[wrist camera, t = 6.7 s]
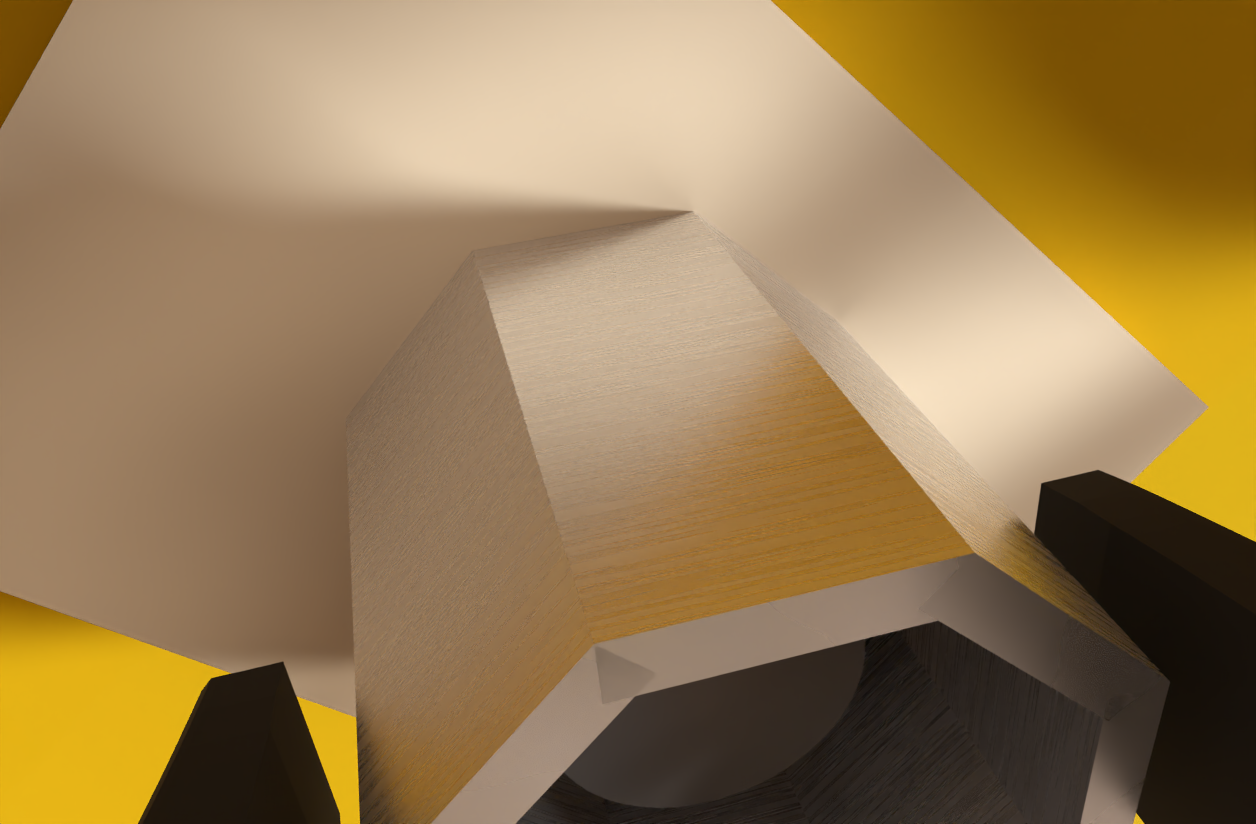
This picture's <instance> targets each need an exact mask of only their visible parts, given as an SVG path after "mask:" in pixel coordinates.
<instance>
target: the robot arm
mask: <svg viewBox="0 0 1256 824" xmlns="http://www.w3.org/2000/svg"><path fill="white" fill-rule="evenodd" d="M1034 535H1035V536H1036V537H1037V538H1038V539H1039V540H1040V541H1041V542H1042V543H1043V544H1044V545H1045V547H1046V548H1047V549H1048V550H1049V551H1050V552H1051V553H1052V554H1053V555H1054V556H1055V557H1056V559H1057V560H1058V561H1059V562H1060V563H1061V564H1062V565H1063V566H1064V567H1065V568H1066V569H1067V570H1068V572H1069V573H1070V574H1071V575H1072V576H1073V577H1074V578H1075V579H1076V580H1077V581H1078V582H1079V583H1080V585H1081V586H1082V587H1083V588H1084V589H1085V590H1086V591H1087V592H1088V593H1089V594H1090V595H1091V596H1092V598H1093V599H1094V600H1095V601H1096V602H1097V603H1098V604H1099V605H1100V606H1101V607H1102V608H1103V610H1104V611H1105V612H1106V613H1107V614H1108V615H1109V616H1110V617H1111V618H1112V619H1113V620H1114V621H1115V623H1116V624H1117V625H1118V626H1119V627H1120V628H1121V629H1122V630H1123V631H1124V632H1125V633H1126V634H1127V636H1128V637H1129V638H1130V639H1131V640H1132V641H1133V642H1134V643H1135V644H1136V645H1137V646H1138V647H1139V649H1140V650H1141V651H1142V652H1143V653H1144V654H1145V655H1146V656H1147V657H1148V658H1149V659H1150V661H1151V662H1152V663H1153V664H1154V665H1155V666H1156V667H1157V668H1158V669H1159V670H1160V671H1161V672H1162V674H1163V675H1164V676H1165V677H1166V678H1167V679H1168V680H1169V681H1170V684H1169V688H1168V692H1167V696H1166V699H1165V703H1164V707H1163V711H1162V715H1161V719H1160V722H1159V726H1158V730H1157V734H1156V738H1155V741H1154V745H1153V749H1152V753H1151V757H1150V761H1149V764H1148V768H1147V772H1146V776H1145V780H1144V784H1143V787H1142V791H1141V795H1140V799H1139V803H1138V806H1137V810H1136V813H1137V814H1138V816H1139V817H1140V818H1141V819H1142V821H1143V822H1144V823H1145V824H1256V542H1255V541H1253V540H1250V539H1248V538H1246V537H1244V536H1242V535H1240V534H1238V533H1236V532H1234V531H1232V530H1229V529H1227V528H1225V527H1223V526H1221V525H1219V524H1217V523H1215V522H1213V521H1211V520H1209V519H1206V518H1204V517H1202V516H1200V515H1198V514H1196V513H1194V512H1192V511H1190V510H1188V509H1185V508H1183V507H1181V506H1179V505H1177V504H1175V503H1173V502H1171V501H1168V500H1166V499H1164V498H1162V497H1160V496H1158V495H1156V494H1153V493H1151V492H1149V491H1147V490H1145V489H1142V488H1140V487H1138V486H1136V485H1133V484H1131V483H1129V482H1127V481H1124V480H1122V479H1120V478H1117V477H1115V476H1112V475H1110V474H1108V473H1105V472H1103V471H1100V470H1095V471H1091V472H1086V473H1082V474H1078V475H1074V476H1069V477H1065V478H1061V479H1057V480H1052V481H1048V482H1044V483H1041V488H1040V495H1039V502H1038V509H1037V516H1036V523H1035V530H1034ZM138 824H341V823H340V813H339V810H338V808H337V805H336V802H335V800H334V797H333V794H332V791H331V789H330V786H329V783H328V781H327V778H326V775H325V773H324V770H323V767H322V764H321V762H320V759H319V756H318V754H317V751H316V748H315V746H314V743H313V740H312V737H311V735H310V732H309V729H308V727H307V724H306V721H305V719H304V716H303V713H302V711H301V708H300V705H299V702H298V700H297V697H296V694H295V692H294V689H293V686H292V684H291V681H290V678H289V675H288V673H287V670H286V667H285V665H284V662H279V663H274V664H270V665H266V666H262V667H257V668H253V669H249V670H245V671H240V672H236V673H232V674H228V675H223V676H219V677H215V678H211V679H210V681H209V682H208V683H207V685H206V686H205V687H204V689H203V690H202V691H201V693H200V696H199V698H198V700H197V702H196V704H195V707H194V709H193V711H192V713H191V715H190V717H189V720H188V722H187V724H186V726H185V728H184V730H183V732H182V735H181V737H180V739H179V741H178V743H177V745H176V747H175V749H174V752H173V754H172V756H171V758H170V760H169V762H168V764H167V766H166V768H165V770H164V772H163V774H162V776H161V779H160V781H159V783H158V785H157V787H156V789H155V791H154V793H153V795H152V797H151V799H150V801H149V803H148V805H147V807H146V809H145V811H144V813H143V815H142V817H141V819H140V821H139V823H138Z"/></svg>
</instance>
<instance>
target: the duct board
mask: <svg viewBox="0 0 1256 824" xmlns="http://www.w3.org/2000/svg"><path fill="white" fill-rule="evenodd" d="M691 211H694V212H695V213H696V214H697V215H699V216H700V217H701V218H703V219H704V220H705V221H707V222H708V223H709V224H711V225H712V226H713V227H715V228H716V229H717V230H719V231H720V232H721V233H722V234H724V235H725V236H726V237H728V238H729V239H730V240H732V241H733V242H734V243H736V244H737V245H738V246H740V247H741V248H742V249H744V250H745V251H746V252H747V253H749V254H750V255H751V256H753V257H754V258H755V259H757V260H758V261H759V262H761V263H762V264H763V265H765V266H766V267H767V268H769V269H770V270H771V271H772V272H774V273H775V274H776V275H778V276H779V277H780V278H782V279H783V280H784V281H786V282H787V283H788V284H790V285H791V286H792V287H794V288H795V289H796V290H797V291H799V292H800V293H801V294H803V295H804V296H805V297H807V298H808V299H809V300H811V301H812V302H813V303H815V304H816V305H817V306H819V307H820V308H821V309H822V310H824V311H825V312H826V313H828V314H829V315H830V316H832V317H833V318H834V319H836V320H837V321H838V322H839V323H840V324H841V325H842V326H843V327H844V328H845V330H846V331H847V332H848V333H849V334H850V335H851V336H852V337H853V338H854V339H855V340H856V341H857V343H858V344H859V345H860V346H861V347H862V348H863V349H864V350H865V351H866V352H867V353H868V354H869V356H870V357H871V358H872V359H873V360H874V361H875V362H876V363H877V364H878V365H879V366H880V367H881V369H882V370H883V371H884V372H885V373H886V374H887V375H888V376H889V377H890V378H891V379H892V381H893V382H894V383H895V384H896V385H897V386H898V387H899V388H900V389H901V390H902V391H903V392H904V394H905V395H906V396H907V397H908V398H909V399H910V400H911V401H912V402H913V403H914V404H915V405H916V407H917V408H918V409H919V410H920V411H921V412H922V413H923V414H924V415H925V416H926V417H927V419H928V420H929V421H930V422H931V423H932V424H933V425H934V426H935V427H936V428H937V429H938V430H939V432H940V433H941V434H942V435H943V436H944V437H945V438H946V439H947V440H948V441H949V442H950V443H951V445H952V446H953V447H954V448H955V449H956V450H957V451H958V452H959V453H960V454H961V455H962V456H963V458H964V459H965V460H966V461H967V462H968V463H969V464H970V465H971V466H972V467H973V468H974V470H975V471H976V472H977V473H978V474H979V475H980V476H981V477H982V478H983V479H984V480H985V481H986V483H987V484H988V485H989V486H990V487H991V488H992V489H993V490H994V491H995V492H996V493H997V494H998V496H999V497H1000V498H1001V499H1002V500H1003V501H1004V502H1005V503H1006V504H1007V505H1008V506H1009V507H1010V509H1011V510H1012V511H1013V512H1014V513H1015V514H1016V515H1017V516H1018V517H1019V518H1020V519H1021V521H1022V522H1023V523H1024V524H1025V525H1026V526H1027V527H1028V528H1029V529H1030V530H1031V531H1032V532H1033V534H1034V530H1035V523H1036V516H1037V509H1038V502H1039V495H1040V488H1041V483H1044V482H1048V481H1052V480H1057V479H1061V478H1065V477H1069V476H1074V475H1078V474H1082V473H1086V472H1091V471H1095V470H1100V471H1103V472H1105V473H1108V474H1110V475H1112V476H1115V477H1117V478H1120V479H1122V480H1124V481H1127V482H1129V483H1131V482H1132V481H1133V480H1134V479H1135V478H1136V477H1137V476H1138V475H1139V474H1140V473H1141V472H1142V471H1143V470H1144V469H1145V468H1146V467H1147V466H1148V465H1149V464H1150V463H1151V462H1152V461H1153V460H1154V459H1155V458H1157V457H1158V456H1159V455H1160V454H1161V453H1162V452H1163V451H1164V450H1165V449H1166V448H1167V447H1168V446H1169V445H1170V444H1171V443H1172V442H1173V441H1174V440H1175V439H1176V438H1177V437H1178V436H1179V435H1180V434H1181V433H1182V432H1183V431H1185V430H1186V429H1187V428H1188V427H1189V426H1190V425H1191V424H1192V423H1193V422H1194V421H1195V420H1196V419H1197V418H1198V417H1199V416H1200V415H1201V414H1202V413H1203V412H1204V411H1205V410H1206V409H1207V408H1208V406H1207V405H1206V404H1205V403H1204V402H1202V401H1201V400H1200V399H1199V398H1198V397H1197V396H1196V395H1195V394H1194V393H1193V392H1192V391H1191V390H1190V389H1189V388H1187V387H1186V386H1185V385H1184V384H1183V383H1182V382H1181V381H1180V380H1179V379H1178V378H1177V377H1176V376H1175V375H1173V374H1172V373H1171V372H1170V371H1169V370H1168V369H1167V368H1166V367H1165V366H1164V365H1163V364H1162V363H1161V362H1159V361H1158V360H1157V359H1156V358H1155V357H1154V356H1153V355H1152V354H1151V353H1150V352H1149V351H1148V350H1147V349H1145V348H1144V347H1143V346H1142V345H1141V344H1140V343H1139V342H1138V341H1137V340H1136V339H1135V338H1134V337H1133V336H1131V335H1130V334H1129V333H1128V332H1127V331H1126V330H1125V329H1124V328H1123V327H1122V326H1121V325H1120V324H1119V323H1117V322H1116V321H1115V320H1114V319H1113V318H1112V317H1111V316H1110V315H1109V314H1108V313H1107V312H1106V311H1105V310H1103V309H1102V308H1101V307H1100V306H1099V305H1098V304H1097V303H1096V302H1095V301H1094V300H1093V299H1092V298H1091V297H1089V296H1088V295H1087V294H1086V293H1085V292H1084V291H1083V290H1082V289H1081V288H1080V287H1079V286H1078V285H1077V284H1075V283H1074V282H1073V281H1072V280H1071V279H1070V278H1069V277H1068V276H1067V275H1066V274H1065V273H1064V272H1063V271H1061V270H1060V269H1059V268H1058V267H1057V266H1056V265H1055V264H1054V263H1053V262H1052V261H1051V260H1050V259H1049V258H1047V257H1046V256H1045V255H1044V254H1043V253H1042V252H1041V251H1040V250H1039V249H1038V248H1037V247H1036V246H1035V245H1033V244H1032V243H1031V242H1030V241H1029V240H1028V239H1027V238H1026V237H1025V236H1024V235H1023V234H1022V233H1021V232H1019V231H1018V230H1017V229H1016V228H1015V227H1014V226H1013V225H1012V224H1011V223H1010V222H1009V221H1008V220H1007V219H1005V218H1004V217H1003V216H1002V215H1001V214H1000V213H999V212H998V211H997V210H996V209H995V208H994V207H993V206H991V205H990V204H989V203H988V202H987V201H986V200H985V199H984V198H983V197H982V196H981V195H980V194H979V193H977V192H976V191H975V190H974V189H973V188H972V187H971V186H970V185H969V184H968V183H967V182H966V181H965V180H963V179H962V178H961V177H960V176H959V175H958V174H957V173H956V172H955V171H954V170H953V169H952V168H951V167H949V166H948V165H947V164H946V163H945V162H944V161H943V160H942V159H941V158H940V157H939V156H938V155H937V154H936V153H934V152H933V151H932V150H931V149H930V148H929V147H928V146H927V145H926V144H925V143H924V142H923V141H922V140H920V139H919V138H918V137H917V136H916V135H915V134H914V133H913V132H912V131H911V130H910V129H909V128H908V127H906V126H905V125H904V124H903V123H902V122H901V121H900V120H899V119H898V118H897V117H896V116H895V115H894V114H892V113H891V112H890V111H889V110H888V109H887V108H886V107H885V106H884V105H883V104H882V103H881V102H880V101H878V100H877V99H876V98H875V97H874V96H873V95H872V94H871V93H870V92H869V91H868V90H867V89H866V88H864V87H863V86H862V85H861V84H860V83H859V82H858V81H857V80H856V79H855V78H854V77H853V76H852V75H850V74H849V73H848V72H847V71H846V70H845V69H844V68H843V67H842V66H841V65H840V64H839V63H838V62H836V61H835V60H834V59H833V58H832V57H831V56H830V55H829V54H828V53H827V52H826V51H825V50H824V49H822V48H821V47H820V46H819V45H818V44H817V43H816V42H815V41H814V40H813V39H812V38H811V37H810V36H808V35H807V34H806V33H805V32H804V31H803V30H802V29H801V28H800V27H799V26H798V25H797V24H796V23H794V22H793V21H792V20H791V19H790V18H789V17H788V16H787V15H786V14H785V13H784V12H783V11H782V10H780V9H779V8H778V7H777V6H776V5H775V4H774V3H773V2H772V1H771V0H73V1H72V3H71V5H70V7H69V8H68V10H67V12H66V14H65V16H64V17H63V19H62V21H61V23H60V24H59V26H58V28H57V30H56V31H55V33H54V35H53V37H52V39H51V40H50V42H49V44H48V46H47V47H46V49H45V51H44V53H43V54H42V56H41V58H40V60H39V61H38V63H37V65H36V67H35V69H34V70H33V72H32V74H31V76H30V77H29V79H28V81H27V83H26V84H25V86H24V88H23V90H22V92H21V93H20V95H19V97H18V99H17V100H16V102H15V104H14V106H13V107H12V109H11V111H10V113H9V114H8V116H7V118H6V120H5V122H4V123H3V125H2V127H1V129H0V591H1V592H4V593H7V594H10V595H12V596H15V597H18V598H21V599H24V600H26V601H29V602H32V603H35V604H38V605H41V606H43V607H46V608H49V609H52V610H55V611H58V612H60V613H63V614H66V615H69V616H72V617H74V618H77V619H80V620H83V621H86V622H89V623H91V624H94V625H97V626H100V627H103V628H106V629H108V630H111V631H114V632H117V633H120V634H123V635H125V636H128V637H131V638H134V639H137V640H139V641H142V642H145V643H148V644H151V645H154V646H156V647H159V648H162V649H165V650H168V651H171V652H173V653H176V654H179V655H182V656H185V657H187V658H190V659H193V660H196V661H199V662H202V663H204V664H207V665H210V666H213V667H216V668H219V669H221V670H224V671H227V672H230V673H236V672H240V671H245V670H249V669H253V668H257V667H262V666H266V665H270V664H274V663H279V662H284V665H285V667H286V670H287V673H288V675H289V678H290V681H291V684H292V686H293V689H294V692H295V694H296V696H298V697H300V698H303V699H306V700H309V701H312V702H315V703H317V704H320V705H323V706H326V707H329V708H332V709H334V710H337V711H340V712H343V713H346V714H348V715H351V716H354V717H356V693H355V665H354V637H353V609H352V581H351V553H350V525H349V497H348V469H347V441H346V418H347V417H348V415H349V414H350V413H351V411H352V410H353V409H354V407H355V406H356V405H357V403H358V402H359V401H360V399H361V398H362V397H363V395H364V394H365V393H366V391H367V390H368V389H369V388H370V386H371V385H372V384H373V382H374V381H375V380H376V378H377V377H378V376H379V374H380V373H381V372H382V370H383V369H384V368H385V366H386V365H387V364H388V362H389V361H390V360H391V358H392V357H393V356H394V354H395V353H396V352H397V350H398V349H399V348H400V346H401V345H402V344H403V342H404V341H405V340H406V338H407V337H408V336H409V334H410V333H411V332H412V330H413V329H414V328H415V326H416V325H417V324H418V322H419V321H420V320H421V318H422V317H423V316H424V314H425V313H426V312H427V310H428V309H429V308H430V306H431V305H432V304H433V302H434V301H435V300H436V298H437V297H438V296H439V294H440V293H441V292H442V290H443V289H444V288H445V286H446V285H447V284H448V282H449V281H450V280H451V278H452V277H453V276H454V274H455V273H456V272H457V270H458V269H459V268H460V266H461V265H462V264H463V262H464V261H465V260H466V258H467V257H468V256H469V254H470V253H471V252H472V251H473V250H478V249H483V248H489V247H495V246H500V245H506V244H512V243H517V242H523V241H528V240H534V239H540V238H545V237H551V236H556V235H562V234H568V233H573V232H579V231H585V230H590V229H596V228H601V227H607V226H613V225H618V224H624V223H629V222H635V221H641V220H646V219H652V218H657V217H663V216H669V215H674V214H680V213H686V212H691ZM864 658H865V639H862V640H858V641H854V642H850V643H846V644H842V645H838V646H834V647H830V648H826V649H822V650H818V651H814V652H810V653H806V654H802V655H798V656H794V657H790V658H786V659H782V660H778V661H774V662H770V663H766V664H762V665H758V666H754V667H750V668H746V669H742V670H738V671H734V672H730V673H726V674H722V675H718V676H714V677H710V678H706V679H702V680H698V681H694V682H690V683H686V684H682V685H678V686H674V687H670V688H666V689H662V690H658V691H654V692H650V693H646V694H642V695H638V696H635V697H634V698H633V699H632V700H631V701H630V702H629V703H628V705H627V706H626V707H625V708H624V709H623V710H622V711H621V712H620V713H619V714H618V715H617V716H616V717H615V718H614V719H613V720H612V722H611V723H610V724H609V725H608V726H607V727H606V728H605V729H604V730H603V731H602V732H601V733H600V734H599V735H598V736H597V737H596V739H595V740H594V741H593V742H592V743H591V744H590V745H589V746H588V747H587V748H586V749H585V750H584V751H583V752H582V753H581V754H580V756H579V757H578V758H577V759H576V760H575V761H574V762H573V763H572V764H571V765H570V766H569V767H568V768H567V769H566V770H565V772H564V773H565V774H566V775H567V776H568V777H570V778H571V779H572V780H573V781H574V782H575V783H576V784H578V785H579V786H581V787H583V788H584V789H586V790H587V791H589V792H591V793H593V794H595V795H597V796H600V797H602V798H604V799H607V800H610V801H614V802H617V803H621V804H626V805H632V806H638V807H652V808H667V807H682V806H689V805H696V804H701V803H706V802H710V801H714V800H718V799H721V798H724V797H728V796H731V795H734V794H737V793H739V792H742V791H744V790H747V789H749V788H751V787H754V786H756V785H758V784H760V783H762V782H764V781H766V780H768V779H770V778H772V777H773V776H775V775H777V774H778V773H780V772H782V771H783V770H785V769H786V768H788V767H790V766H791V765H792V764H794V763H795V762H796V761H798V760H799V759H800V758H802V757H803V756H804V755H806V754H807V753H808V752H809V751H810V750H811V749H812V748H813V747H815V746H816V745H817V744H818V743H819V742H820V741H821V740H822V739H823V738H824V737H825V736H826V735H827V734H828V732H829V731H830V730H831V729H832V728H833V727H834V725H835V724H836V723H837V721H838V720H839V719H840V717H841V716H842V715H843V713H844V712H845V710H846V708H847V707H848V705H849V703H850V702H851V700H852V698H853V696H854V693H855V691H856V689H857V686H858V684H859V681H860V678H861V674H862V670H863V666H864Z"/></svg>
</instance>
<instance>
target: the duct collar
mask: <svg viewBox="0 0 1256 824" xmlns="http://www.w3.org/2000/svg"><path fill="white" fill-rule="evenodd" d="M346 441H347V469H348V497H349V525H350V553H351V581H352V609H353V637H354V665H355V693H356V721H357V749H358V777H359V804H360V824H1133V822H1134V818H1135V814H1136V810H1137V806H1138V803H1139V799H1140V795H1141V791H1142V787H1143V784H1144V780H1145V776H1146V772H1147V768H1148V764H1149V761H1150V757H1151V753H1152V749H1153V745H1154V741H1155V738H1156V734H1157V730H1158V726H1159V722H1160V719H1161V715H1162V711H1163V707H1164V703H1165V699H1166V696H1167V692H1168V688H1169V684H1170V681H1169V680H1168V679H1167V678H1166V677H1165V676H1164V675H1163V674H1162V672H1161V671H1160V670H1159V669H1158V668H1157V667H1156V666H1155V665H1154V664H1153V663H1152V662H1151V661H1150V659H1149V658H1148V657H1147V656H1146V655H1145V654H1144V653H1143V652H1142V651H1141V650H1140V649H1139V647H1138V646H1137V645H1136V644H1135V643H1134V642H1133V641H1132V640H1131V639H1130V638H1129V637H1128V636H1127V634H1126V633H1125V632H1124V631H1123V630H1122V629H1121V628H1120V627H1119V626H1118V625H1117V624H1116V623H1115V621H1114V620H1113V619H1112V618H1111V617H1110V616H1109V615H1108V614H1107V613H1106V612H1105V611H1104V610H1103V608H1102V607H1101V606H1100V605H1099V604H1098V603H1097V602H1096V601H1095V600H1094V599H1093V598H1092V596H1091V595H1090V594H1089V593H1088V592H1087V591H1086V590H1085V589H1084V588H1083V587H1082V586H1081V585H1080V583H1079V582H1078V581H1077V580H1076V579H1075V578H1074V577H1073V576H1072V575H1071V574H1070V573H1069V572H1068V570H1067V569H1066V568H1065V567H1064V566H1063V565H1062V564H1061V563H1060V562H1059V561H1058V560H1057V559H1056V557H1055V556H1054V555H1053V554H1052V553H1051V552H1050V551H1049V550H1048V549H1047V548H1046V547H1045V545H1044V544H1043V543H1042V542H1041V541H1040V540H1039V539H1038V538H1037V537H1036V536H1035V535H1034V534H1033V532H1032V531H1031V530H1030V529H1029V528H1028V527H1027V526H1026V525H1025V524H1024V523H1023V522H1022V521H1021V519H1020V518H1019V517H1018V516H1017V515H1016V514H1015V513H1014V512H1013V511H1012V510H1011V509H1010V507H1009V506H1008V505H1007V504H1006V503H1005V502H1004V501H1003V500H1002V499H1001V498H1000V497H999V496H998V494H997V493H996V492H995V491H994V490H993V489H992V488H991V487H990V486H989V485H988V484H987V483H986V481H985V480H984V479H983V478H982V477H981V476H980V475H979V474H978V473H977V472H976V471H975V470H974V468H973V467H972V466H971V465H970V464H969V463H968V462H967V461H966V460H965V459H964V458H963V456H962V455H961V454H960V453H959V452H958V451H957V450H956V449H955V448H954V447H953V446H952V445H951V443H950V442H949V441H948V440H947V439H946V438H945V437H944V436H943V435H942V434H941V433H940V432H939V430H938V429H937V428H936V427H935V426H934V425H933V424H932V423H931V422H930V421H929V420H928V419H927V417H926V416H925V415H924V414H923V413H922V412H921V411H920V410H919V409H918V408H917V407H916V405H915V404H914V403H913V402H912V401H911V400H910V399H909V398H908V397H907V396H906V395H905V394H904V392H903V391H902V390H901V389H900V388H899V387H898V386H897V385H896V384H895V383H894V382H893V381H892V379H891V378H890V377H889V376H888V375H887V374H886V373H885V372H884V371H883V370H882V369H881V367H880V366H879V365H878V364H877V363H876V362H875V361H874V360H873V359H872V358H871V357H870V356H869V354H868V353H867V352H866V351H865V350H864V349H863V348H862V347H861V346H860V345H859V344H858V343H857V341H856V340H855V339H854V338H853V337H852V336H851V335H850V334H849V333H848V332H847V331H846V330H845V328H844V327H843V326H842V325H841V324H840V323H839V322H838V321H837V320H836V319H834V318H833V317H832V316H830V315H829V314H828V313H826V312H825V311H824V310H822V309H821V308H820V307H819V306H817V305H816V304H815V303H813V302H812V301H811V300H809V299H808V298H807V297H805V296H804V295H803V294H801V293H800V292H799V291H797V290H796V289H795V288H794V287H792V286H791V285H790V284H788V283H787V282H786V281H784V280H783V279H782V278H780V277H779V276H778V275H776V274H775V273H774V272H772V271H771V270H770V269H769V268H767V267H766V266H765V265H763V264H762V263H761V262H759V261H758V260H757V259H755V258H754V257H753V256H751V255H750V254H749V253H747V252H746V251H745V250H744V249H742V248H741V247H740V246H738V245H737V244H736V243H734V242H733V241H732V240H730V239H729V238H728V237H726V236H725V235H724V234H722V233H721V232H720V231H719V230H717V229H716V228H715V227H713V226H712V225H711V224H709V223H708V222H707V221H705V220H704V219H703V218H701V217H700V216H699V215H697V214H696V213H695V212H694V211H691V212H686V213H680V214H674V215H669V216H663V217H657V218H652V219H646V220H641V221H635V222H629V223H624V224H618V225H613V226H607V227H601V228H596V229H590V230H585V231H579V232H573V233H568V234H562V235H556V236H551V237H545V238H540V239H534V240H528V241H523V242H517V243H512V244H506V245H500V246H495V247H489V248H483V249H478V250H473V251H472V252H471V253H470V254H469V256H468V257H467V258H466V260H465V261H464V262H463V264H462V265H461V266H460V268H459V269H458V270H457V272H456V273H455V274H454V276H453V277H452V278H451V280H450V281H449V282H448V284H447V285H446V286H445V288H444V289H443V290H442V292H441V293H440V294H439V296H438V297H437V298H436V300H435V301H434V302H433V304H432V305H431V306H430V308H429V309H428V310H427V312H426V313H425V314H424V316H423V317H422V318H421V320H420V321H419V322H418V324H417V325H416V326H415V328H414V329H413V330H412V332H411V333H410V334H409V336H408V337H407V338H406V340H405V341H404V342H403V344H402V345H401V346H400V348H399V349H398V350H397V352H396V353H395V354H394V356H393V357H392V358H391V360H390V361H389V362H388V364H387V365H386V366H385V368H384V369H383V370H382V372H381V373H380V374H379V376H378V377H377V378H376V380H375V381H374V382H373V384H372V385H371V386H370V388H369V389H368V390H367V391H366V393H365V394H364V395H363V397H362V398H361V399H360V401H359V402H358V403H357V405H356V406H355V407H354V409H353V410H352V411H351V413H350V414H349V415H348V417H347V418H346ZM862 639H865V658H864V666H863V670H862V674H861V678H860V681H859V684H858V686H857V689H856V691H855V693H854V696H853V698H852V700H851V702H850V703H849V705H848V707H847V708H846V710H845V712H844V713H843V715H842V716H841V717H840V719H839V720H838V721H837V723H836V724H835V725H834V727H833V728H832V729H831V730H830V731H829V732H828V734H827V735H826V736H825V737H824V738H823V739H822V740H821V741H820V742H819V743H818V744H817V745H816V746H815V747H813V748H812V749H811V750H810V751H809V752H808V753H807V754H806V755H804V756H803V757H802V758H800V759H799V760H798V761H796V762H795V763H794V764H792V765H791V766H790V767H788V768H786V769H785V770H783V771H782V772H780V773H778V774H777V775H775V776H773V777H772V778H770V779H768V780H766V781H764V782H762V783H760V784H758V785H756V786H754V787H751V788H749V789H747V790H744V791H742V792H739V793H737V794H734V795H731V796H728V797H724V798H721V799H718V800H714V801H710V802H706V803H701V804H696V805H689V806H682V807H667V808H652V807H638V806H632V805H626V804H621V803H617V802H614V801H610V800H607V799H604V798H602V797H600V796H597V795H595V794H593V793H591V792H589V791H587V790H586V789H584V788H583V787H581V786H579V785H578V784H576V783H575V782H574V781H573V780H572V779H571V778H570V777H568V776H567V775H566V774H565V773H564V772H565V770H566V769H567V768H568V767H569V766H570V765H571V764H572V763H573V762H574V761H575V760H576V759H577V758H578V757H579V756H580V754H581V753H582V752H583V751H584V750H585V749H586V748H587V747H588V746H589V745H590V744H591V743H592V742H593V741H594V740H595V739H596V737H597V736H598V735H599V734H600V733H601V732H602V731H603V730H604V729H605V728H606V727H607V726H608V725H609V724H610V723H611V722H612V720H613V719H614V718H615V717H616V716H617V715H618V714H619V713H620V712H621V711H622V710H623V709H624V708H625V707H626V706H627V705H628V703H629V702H630V701H631V700H632V699H633V698H634V697H635V696H638V695H642V694H646V693H650V692H654V691H658V690H662V689H666V688H670V687H674V686H678V685H682V684H686V683H690V682H694V681H698V680H702V679H706V678H710V677H714V676H718V675H722V674H726V673H730V672H734V671H738V670H742V669H746V668H750V667H754V666H758V665H762V664H766V663H770V662H774V661H778V660H782V659H786V658H790V657H794V656H798V655H802V654H806V653H810V652H814V651H818V650H822V649H826V648H830V647H834V646H838V645H842V644H846V643H850V642H854V641H858V640H862Z"/></svg>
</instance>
